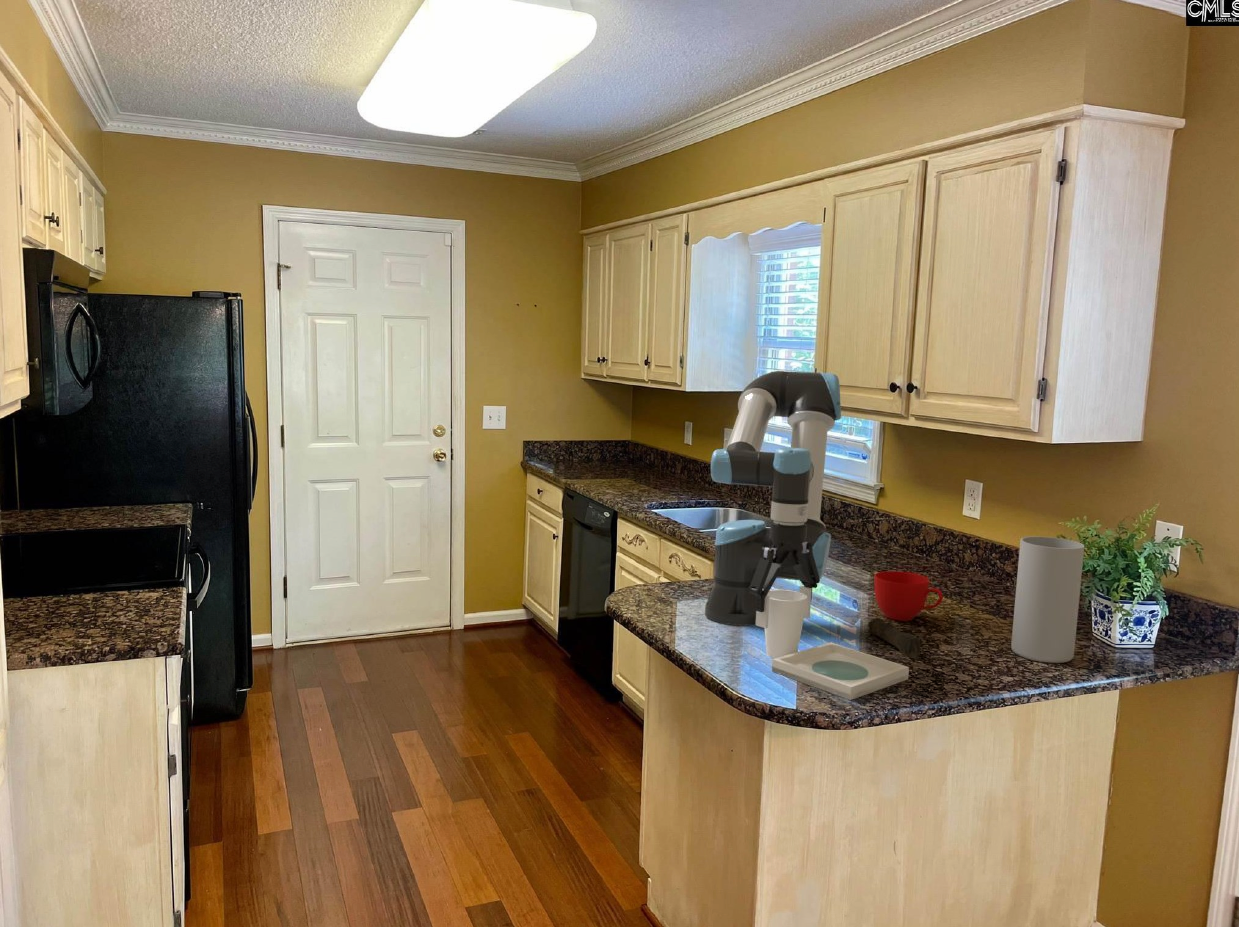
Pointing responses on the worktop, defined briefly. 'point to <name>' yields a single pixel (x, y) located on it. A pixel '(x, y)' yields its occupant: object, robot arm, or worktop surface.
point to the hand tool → (896, 638)
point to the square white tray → (840, 670)
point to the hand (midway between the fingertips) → (783, 621)
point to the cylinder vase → (1047, 599)
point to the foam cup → (784, 622)
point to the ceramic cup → (902, 594)
